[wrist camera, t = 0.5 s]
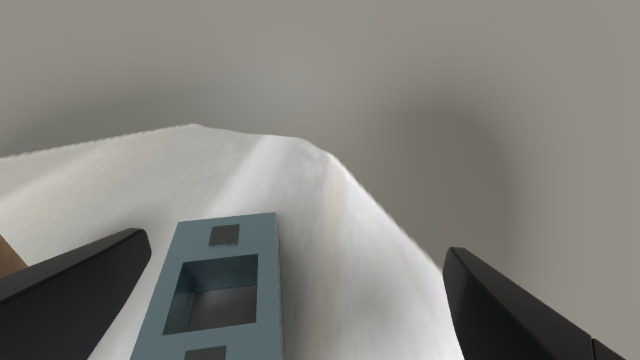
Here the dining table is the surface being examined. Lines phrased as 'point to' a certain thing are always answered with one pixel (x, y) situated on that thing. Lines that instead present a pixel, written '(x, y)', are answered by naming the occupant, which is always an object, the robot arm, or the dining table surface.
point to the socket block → (211, 274)
